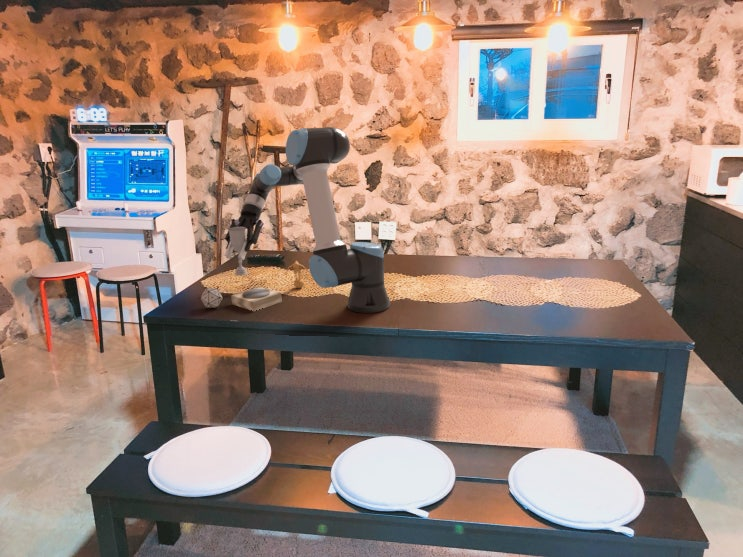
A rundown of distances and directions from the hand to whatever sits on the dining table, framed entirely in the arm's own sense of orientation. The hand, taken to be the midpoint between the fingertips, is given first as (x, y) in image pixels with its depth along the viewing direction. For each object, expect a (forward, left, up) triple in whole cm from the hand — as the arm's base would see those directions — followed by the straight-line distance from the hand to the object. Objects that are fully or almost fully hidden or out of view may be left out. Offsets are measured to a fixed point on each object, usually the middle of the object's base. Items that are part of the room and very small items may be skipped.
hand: (234, 257), depth 229 cm
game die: (-6, +16, -15) cm, 23 cm away
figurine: (-15, -18, -15) cm, 28 cm away
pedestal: (-15, +3, -15) cm, 21 cm away
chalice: (+1, -3, -8) cm, 8 cm away
